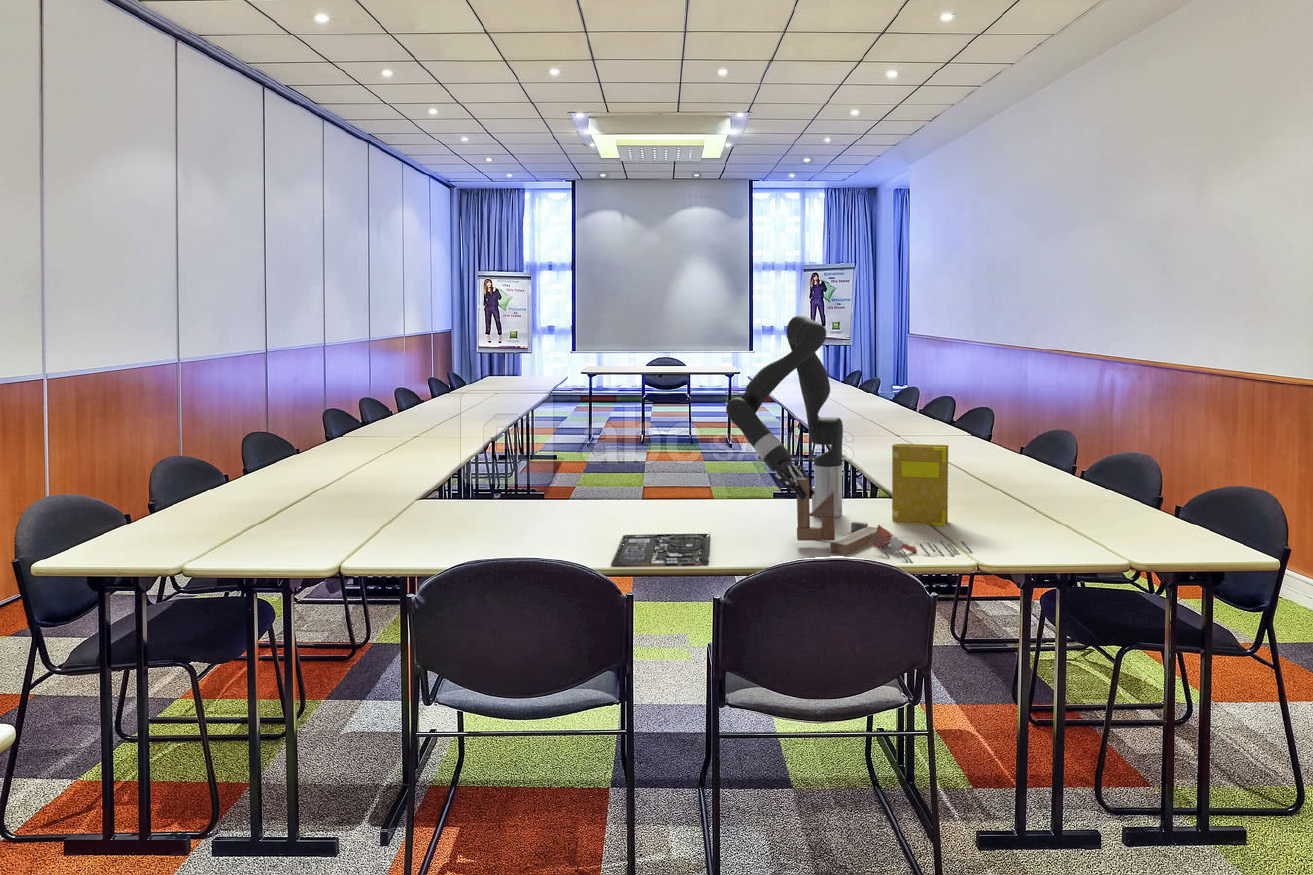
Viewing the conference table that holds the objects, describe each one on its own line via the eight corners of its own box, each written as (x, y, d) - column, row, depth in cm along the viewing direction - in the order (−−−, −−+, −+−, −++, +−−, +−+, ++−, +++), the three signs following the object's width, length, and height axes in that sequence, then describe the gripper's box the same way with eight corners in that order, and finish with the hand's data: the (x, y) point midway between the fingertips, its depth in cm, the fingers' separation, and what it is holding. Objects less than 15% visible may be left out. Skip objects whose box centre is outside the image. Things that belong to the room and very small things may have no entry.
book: (947, 521, 301) (948, 444, 298) (944, 526, 295) (945, 447, 292) (894, 518, 308) (894, 443, 305) (890, 522, 302) (890, 446, 299)
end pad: (810, 539, 282) (810, 538, 282) (823, 534, 288) (823, 533, 288) (846, 544, 275) (846, 543, 275) (858, 539, 281) (858, 538, 281)
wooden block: (834, 540, 270) (833, 478, 270) (797, 541, 272) (796, 479, 271) (834, 538, 274) (832, 477, 273) (797, 539, 275) (795, 478, 275)
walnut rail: (816, 550, 269) (816, 537, 268) (854, 534, 287) (854, 521, 287) (846, 555, 263) (846, 541, 262) (883, 538, 281) (883, 525, 281)
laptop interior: (622, 538, 293) (622, 533, 293) (711, 537, 291) (711, 531, 290) (607, 570, 259) (607, 563, 258) (708, 568, 256) (708, 561, 256)
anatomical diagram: (866, 524, 268) (944, 513, 274) (862, 548, 272) (938, 538, 278) (900, 567, 250) (982, 555, 256) (895, 593, 255) (976, 581, 261)
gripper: (767, 447, 270) (804, 492, 264) (792, 440, 281) (828, 484, 275) (752, 463, 274) (788, 508, 268) (777, 456, 285) (812, 500, 279)
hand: (808, 496), depth 272 cm, fingers closed on wooden block, 3 cm apart
